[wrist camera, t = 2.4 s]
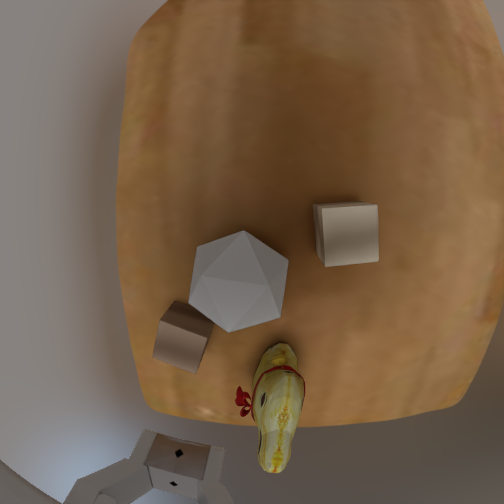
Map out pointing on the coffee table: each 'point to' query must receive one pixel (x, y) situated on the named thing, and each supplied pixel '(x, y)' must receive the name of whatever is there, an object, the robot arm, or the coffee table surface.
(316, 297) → the coffee table surface
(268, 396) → the chocolate bunny
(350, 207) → the beech block
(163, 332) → the walnut block
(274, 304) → the die
